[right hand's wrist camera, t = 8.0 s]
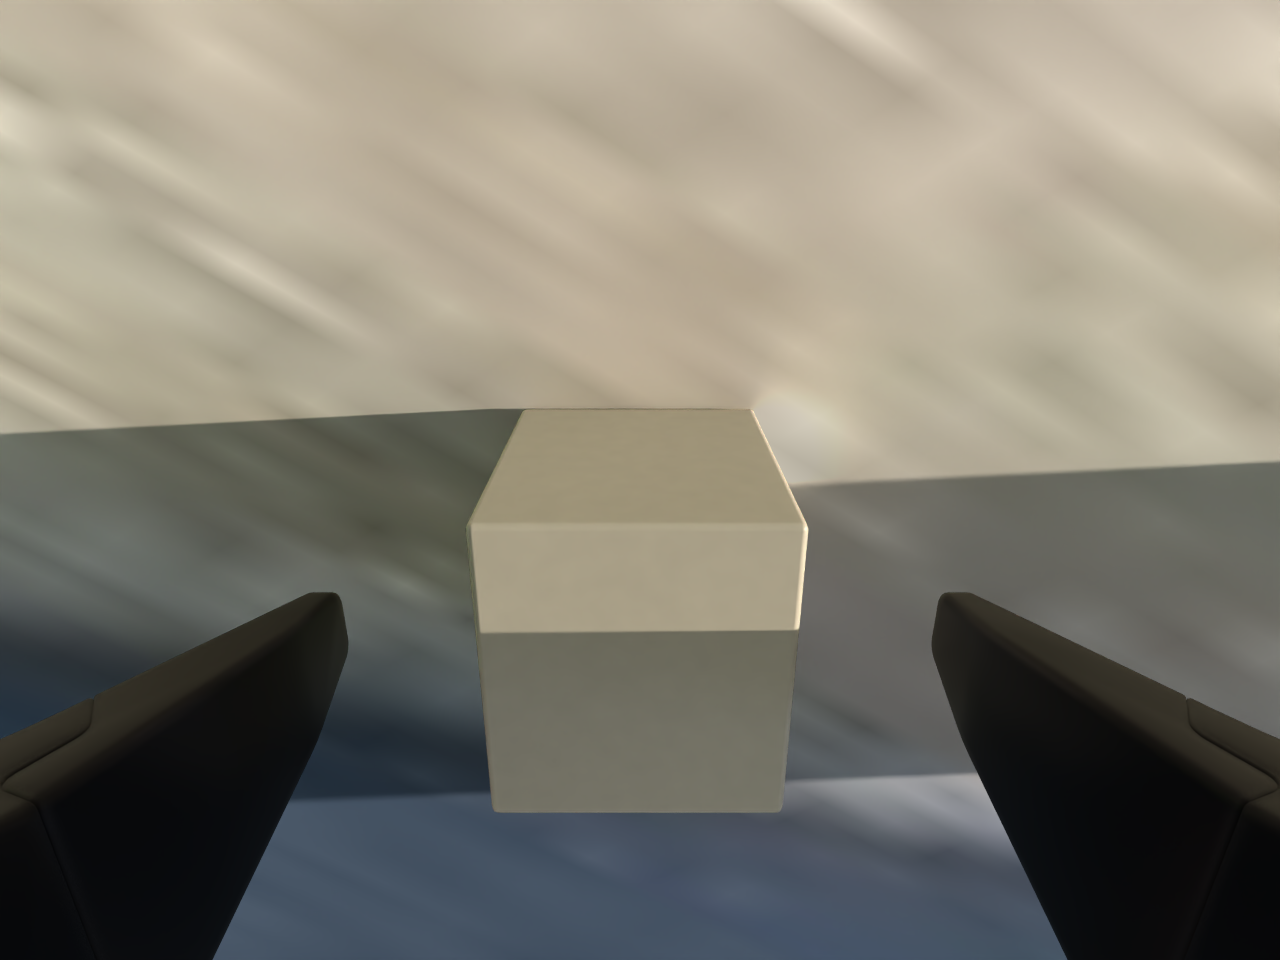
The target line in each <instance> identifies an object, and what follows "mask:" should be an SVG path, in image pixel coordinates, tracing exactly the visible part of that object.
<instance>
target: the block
mask: <svg viewBox="0 0 1280 960" xmlns="http://www.w3.org/2000/svg"><path fill="white" fill-rule="evenodd" d="M466 538H467V549H468V559H469V569H470V580H471V590H472V601H473V611H474V622H475V632H476V643H477V653H478V664H479V674H480V684H481V695H482V705H483V716H484V726H485V737H486V747H487V758H488V768H489V779H490V789H491V799H492V807H493V809H494V811H495V812H498V813H777V812H780V811H781V809H782V806H783V797H784V786H785V776H786V765H787V754H788V743H789V732H790V722H791V711H792V700H793V689H794V678H795V668H796V657H797V646H798V635H799V625H800V614H801V603H802V592H803V581H804V571H805V560H806V549H807V538H808V526H807V524H806V521H805V519H804V517H803V515H802V513H801V511H800V509H799V507H798V505H797V502H796V500H795V498H794V496H793V494H792V492H791V490H790V488H789V486H788V484H787V481H786V479H785V477H784V475H783V473H782V471H781V469H780V467H779V465H778V462H777V460H776V458H775V456H774V454H773V452H772V450H771V448H770V446H769V444H768V441H767V439H766V437H765V435H764V433H763V431H762V429H761V427H760V425H759V422H758V420H757V418H756V416H755V414H754V412H753V411H752V410H750V409H526V410H524V411H523V412H522V414H521V416H520V418H519V420H518V422H517V424H516V426H515V428H514V430H513V432H512V434H511V436H510V438H509V440H508V442H507V444H506V446H505V448H504V450H503V452H502V454H501V456H500V458H499V460H498V462H497V464H496V467H495V469H494V471H493V473H492V475H491V477H490V479H489V481H488V483H487V485H486V487H485V489H484V491H483V493H482V495H481V497H480V499H479V501H478V503H477V505H476V507H475V509H474V511H473V513H472V515H471V517H470V519H469V521H468V523H467V526H466Z"/></svg>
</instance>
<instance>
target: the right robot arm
mask: <svg viewBox="0 0 1280 960" xmlns="http://www.w3.org/2000/svg"><path fill="white" fill-rule="evenodd" d="M347 653H348V636H347V630H346V624H345V618H344V612H343V606H342V601H341V599H340V597H339V596H338V595H337V594H336V593H332V592H313V593H308V594H306V595H304V596H302V597H299V598H297V599H295V600H293V601H291V602H289V603H287V604H285V605H283V606H281V607H279V608H277V609H274V610H272V611H270V612H268V613H266V614H264V615H262V616H260V617H258V618H256V619H254V620H252V621H249V622H247V623H245V624H243V625H241V626H239V627H237V628H235V629H233V630H231V631H229V632H226V633H224V634H222V635H220V636H218V637H216V638H214V639H212V640H210V641H208V642H206V643H204V644H201V645H199V646H197V647H195V648H193V649H191V650H189V651H187V652H185V653H183V654H181V655H179V656H176V657H174V658H172V659H170V660H168V661H166V662H164V663H162V664H160V665H158V666H156V667H154V668H151V669H149V670H147V671H145V672H143V673H141V674H139V675H137V676H135V677H133V678H131V679H128V680H126V681H124V682H122V683H120V684H118V685H116V686H114V687H112V688H110V689H108V690H106V691H103V692H101V693H99V694H97V695H96V696H95V697H94V700H93V699H91V698H89V699H86V700H84V701H82V702H80V703H78V704H76V705H74V706H72V707H70V708H68V709H66V710H64V711H61V712H59V713H57V714H55V715H53V716H51V717H49V718H46V719H44V720H42V721H40V722H38V723H36V724H33V725H31V726H29V727H27V728H25V729H23V730H20V731H18V732H16V733H14V734H11V735H9V736H7V737H4V738H2V739H0V960H213V958H214V955H215V953H216V951H217V949H218V947H219V945H220V943H221V941H222V939H223V937H224V935H225V933H226V931H227V928H228V926H229V924H230V922H231V920H232V918H233V916H234V914H235V912H236V910H237V908H238V906H239V904H240V901H241V899H242V897H243V895H244V893H245V891H246V889H247V887H248V885H249V883H250V881H251V879H252V877H253V874H254V872H255V870H256V868H257V866H258V864H259V862H260V860H261V858H262V856H263V854H264V852H265V850H266V847H267V845H268V843H269V841H270V839H271V837H272V835H273V833H274V831H275V829H276V827H277V825H278V823H279V820H280V818H281V816H282V814H283V812H284V810H285V808H286V806H287V804H288V802H289V800H290V798H291V796H292V793H293V791H294V789H295V787H296V785H297V783H298V781H299V779H300V777H301V775H302V773H303V771H304V769H305V766H306V764H307V762H308V760H309V758H310V756H311V754H312V752H313V749H314V747H315V745H316V743H317V740H318V738H319V735H320V732H321V730H322V727H323V724H324V721H325V718H326V715H327V712H328V710H329V707H330V704H331V701H332V698H333V695H334V692H335V689H336V686H337V683H338V680H339V677H340V674H341V672H342V669H343V666H344V663H345V660H346V657H347ZM932 653H933V657H934V660H935V663H936V666H937V669H938V672H939V674H940V677H941V680H942V683H943V686H944V689H945V692H946V695H947V698H948V701H949V704H950V707H951V710H952V712H953V715H954V718H955V721H956V724H957V727H958V730H959V732H960V735H961V738H962V740H963V743H964V745H965V747H966V749H967V752H968V754H969V756H970V758H971V760H972V762H973V764H974V766H975V769H976V771H977V773H978V775H979V777H980V779H981V781H982V783H983V785H984V787H985V789H986V791H987V793H988V796H989V798H990V800H991V802H992V804H993V806H994V808H995V810H996V812H997V814H998V816H999V818H1000V820H1001V823H1002V825H1003V827H1004V829H1005V831H1006V833H1007V835H1008V837H1009V839H1010V841H1011V843H1012V845H1013V847H1014V850H1015V852H1016V854H1017V856H1018V858H1019V860H1020V862H1021V864H1022V866H1023V868H1024V870H1025V872H1026V874H1027V877H1028V879H1029V881H1030V883H1031V885H1032V887H1033V889H1034V891H1035V893H1036V895H1037V897H1038V899H1039V901H1040V904H1041V906H1042V908H1043V910H1044V912H1045V914H1046V916H1047V918H1048V920H1049V922H1050V924H1051V926H1052V928H1053V931H1054V933H1055V935H1056V937H1057V939H1058V941H1059V943H1060V945H1061V947H1062V949H1063V951H1064V953H1065V955H1066V958H1067V960H1280V739H1278V738H1276V737H1273V736H1271V735H1269V734H1266V733H1264V732H1262V731H1260V730H1257V729H1255V728H1253V727H1251V726H1249V725H1247V724H1244V723H1242V722H1240V721H1238V720H1236V719H1234V718H1231V717H1229V716H1227V715H1225V714H1223V713H1221V712H1219V711H1216V710H1214V709H1212V708H1210V707H1208V706H1206V705H1204V704H1202V703H1200V702H1198V701H1196V700H1194V699H1191V698H1189V699H1187V700H1186V697H1185V696H1184V695H1183V694H1181V693H1179V692H1177V691H1174V690H1172V689H1170V688H1168V687H1166V686H1164V685H1162V684H1160V683H1158V682H1156V681H1154V680H1152V679H1149V678H1147V677H1145V676H1143V675H1141V674H1139V673H1137V672H1135V671H1133V670H1131V669H1129V668H1126V667H1124V666H1122V665H1120V664H1118V663H1116V662H1114V661H1112V660H1110V659H1108V658H1106V657H1104V656H1101V655H1099V654H1097V653H1095V652H1093V651H1091V650H1089V649H1087V648H1085V647H1083V646H1081V645H1079V644H1076V643H1074V642H1072V641H1070V640H1068V639H1066V638H1064V637H1062V636H1060V635H1058V634H1056V633H1054V632H1051V631H1049V630H1047V629H1045V628H1043V627H1041V626H1039V625H1037V624H1035V623H1033V622H1031V621H1029V620H1026V619H1024V618H1022V617H1020V616H1018V615H1016V614H1014V613H1012V612H1010V611H1008V610H1006V609H1003V608H1001V607H999V606H997V605H995V604H993V603H991V602H989V601H987V600H985V599H983V598H981V597H978V596H976V595H974V594H972V593H967V592H948V593H944V594H943V595H942V596H941V597H940V599H939V601H938V606H937V612H936V618H935V624H934V630H933V636H932Z"/></svg>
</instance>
